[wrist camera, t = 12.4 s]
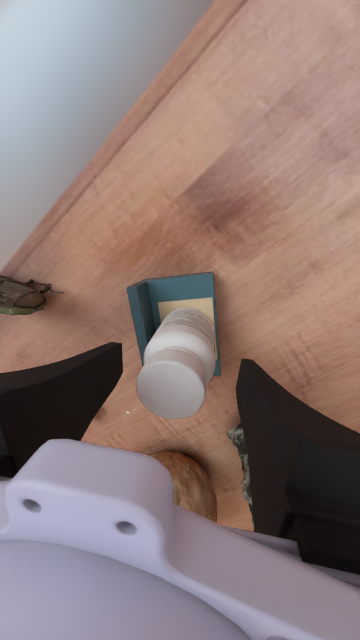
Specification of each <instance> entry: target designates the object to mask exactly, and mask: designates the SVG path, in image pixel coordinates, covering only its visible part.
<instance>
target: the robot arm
mask: <svg viewBox="0 0 360 640" xmlns="http://www.w3.org/2000/svg"><path fill="white" fill-rule="evenodd" d="M122 373H123V362H122V343H116V342H111V343H107V344H105V345H102V346H99V347H97V348H94V349H92V350H89V351H87V352H84V353H82V354H79V355H76V356H73V357H71V358H68V359H65V360H62V361H58V362H55V363H51V364H48V365H44V366H39V367H34V368H30V369H25V370H19V371H13V372H7V373H0V640H360V433H358V432H355V431H353V430H351V429H349V428H347V427H345V426H343V425H341V424H339V423H337V422H335V421H334V420H332V419H330V418H328V417H326V416H324V415H323V414H321V413H319V412H318V411H316V410H314V409H313V408H311V407H309V406H308V405H306V404H305V403H303V402H302V401H300V400H299V399H298V398H296V397H295V396H293V395H292V394H291V393H289V392H288V391H287V390H285V389H284V388H283V387H282V386H281V385H279V384H278V383H277V382H276V381H275V380H274V379H272V378H271V377H270V376H269V375H268V374H267V373H266V372H265V371H264V370H263V369H262V368H261V367H260V366H259V365H258V364H257V363H256V362H255V361H253V360H250V359H241V364H240V369H239V375H238V380H237V386H236V395H237V405H238V410H239V415H240V419H241V424H242V429H243V433H244V438H245V443H246V449H247V457H248V466H249V475H250V485H251V496H252V508H253V520H254V532H251V531H247V530H242V529H238V528H233V527H229V526H224V525H220V524H218V523H215V522H213V521H211V520H209V519H207V518H205V517H202V516H200V515H198V514H196V513H194V512H192V511H189V510H187V509H185V508H183V507H181V506H179V505H176V504H174V503H173V490H174V484H173V481H172V477H171V474H170V472H169V470H168V469H167V468H166V467H165V466H164V465H162V464H161V463H160V462H159V461H158V460H157V459H156V458H153V457H151V456H148V455H145V454H143V453H140V452H135V451H129V450H124V449H119V448H114V447H108V446H103V445H98V444H93V443H87V442H82V441H81V439H82V437H83V435H84V433H85V432H86V430H87V428H88V426H89V424H90V423H91V421H92V420H93V418H94V416H95V415H96V413H97V412H98V411H99V409H100V408H101V406H102V405H103V404H104V402H105V401H106V399H107V398H108V396H109V395H110V394H111V392H112V391H113V389H114V388H115V386H116V385H117V383H118V381H119V379H120V377H121V375H122Z"/></svg>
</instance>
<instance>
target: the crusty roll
mask: <svg viewBox="0 0 360 640" xmlns="http://www.w3.org/2000/svg"><path fill="white" fill-rule="evenodd" d="M150 456H151V457H153V458H156V459H157V460H158V461H159V462H160V463H161V464H162V465H164V466H165V467H166V468H167V469H168V470H169V472H170V474H171V477H172V481H173V484H174V490H173V503H174V504H176V505H179V506H181V507H183V508H185V509H187V510H189V511H192V512H194V513H196V514H198V515H200V516H202V517H205V518H207V519H209V520H211V521H213V522H215V523H216V522H217V500H216V495H215V493H214V490H213V488H212V486H211V485H210V480H209V478H208V476H207V474H206V473H205V471H204V470H203V469H202V468H201V467H200V466H199V465H198V463H196V462H195V461H194V460H192V459H191V458H190V457H188V456H185V455H183V454H182V453H179V452H174V453H173V452H166V451H163V452H160V453H156V454H151V455H150Z"/></svg>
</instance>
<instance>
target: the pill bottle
mask: <svg viewBox="0 0 360 640" xmlns="http://www.w3.org/2000/svg"><path fill="white" fill-rule="evenodd" d="M214 370H215V339H214V328H213V325H212V322H211V321H210V319H209V318H208V317H207V316H206V315H205V314H204V313H203V312H201V311H200V310H197V309H194V308H189V307H184V308H178V309H176V310H174V311H172V312H171V313H169V314H168V315H167V316H166V317H165V319H164V320H163V322H162V324H161V325H160V327H159V328H158V330H157V331H156V333H155V334H154V336H153V337H152V339H151V340H150V342H149V343H148V345H147V347H146V349H145V352H144V366H143V368H142V370H141V372H140V374H139V376H138V379H137V387H136V389H137V394H138V397H139V399H140V401H141V402H142V404H143V405H144V406H145V407H146V408H147V409H148V410H149V411H151V412H152V413H154V414H156V415H157V416H160V417H163V418H167V419H183V418H186V417H189V416H191V415H193V414H194V413H196V412H197V411H198V410H199V409H200V408H201V406H202V405H203V402H204V399H205V394H206V385H207V384H208V383H209V382H210V380H211V379H212V376H213V374H214Z"/></svg>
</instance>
